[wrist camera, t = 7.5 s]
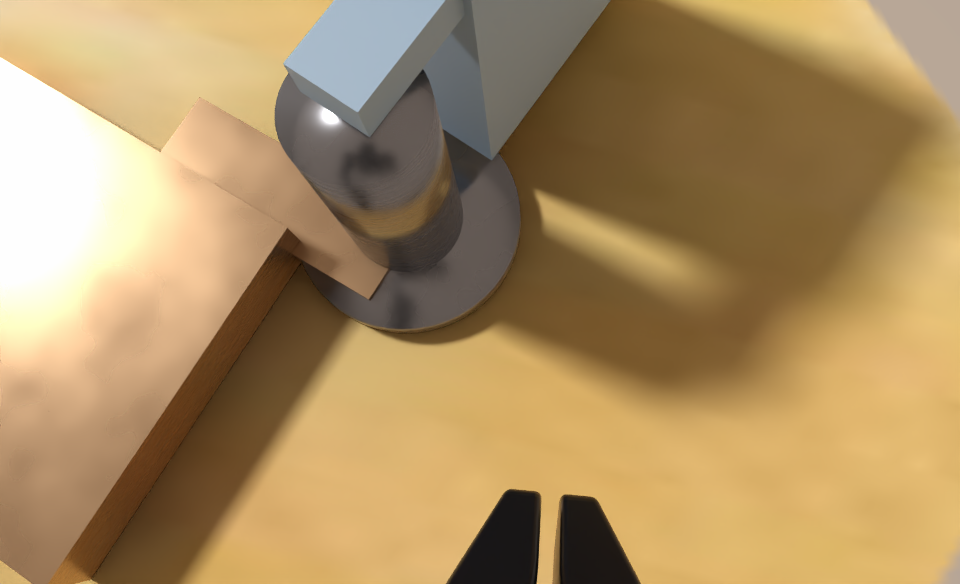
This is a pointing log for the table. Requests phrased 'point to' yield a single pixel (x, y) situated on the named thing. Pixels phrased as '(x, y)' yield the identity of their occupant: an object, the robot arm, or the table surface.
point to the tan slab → (200, 279)
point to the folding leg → (440, 59)
